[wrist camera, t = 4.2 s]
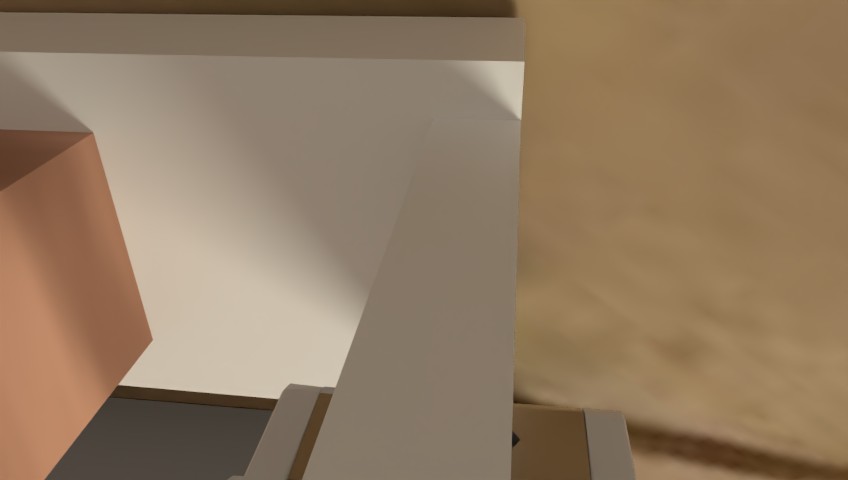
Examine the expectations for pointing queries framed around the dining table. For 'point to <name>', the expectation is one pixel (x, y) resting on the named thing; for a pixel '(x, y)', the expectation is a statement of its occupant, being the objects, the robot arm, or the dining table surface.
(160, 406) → the block
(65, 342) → the reddish brown cube
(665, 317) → the dining table surface
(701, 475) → the dining table surface
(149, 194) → the white stand
